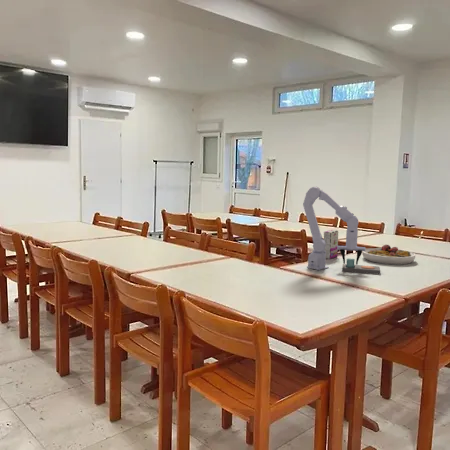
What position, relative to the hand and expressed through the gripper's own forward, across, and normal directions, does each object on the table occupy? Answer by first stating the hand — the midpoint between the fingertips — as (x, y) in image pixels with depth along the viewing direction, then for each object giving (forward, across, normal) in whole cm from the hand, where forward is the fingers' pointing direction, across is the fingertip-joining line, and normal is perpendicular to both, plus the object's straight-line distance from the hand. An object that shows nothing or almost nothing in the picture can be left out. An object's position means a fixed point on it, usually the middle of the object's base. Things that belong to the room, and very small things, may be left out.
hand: (350, 263), depth 241 cm
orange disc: (+1, +9, 0) cm, 9 cm away
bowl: (+4, +22, +37) cm, 43 cm away
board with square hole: (+3, +5, 0) cm, 6 cm away
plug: (+3, 0, 0) cm, 3 cm away
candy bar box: (+4, -12, +33) cm, 35 cm away
